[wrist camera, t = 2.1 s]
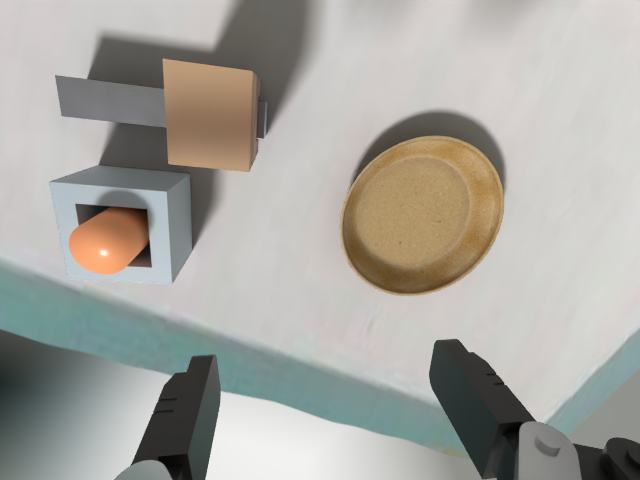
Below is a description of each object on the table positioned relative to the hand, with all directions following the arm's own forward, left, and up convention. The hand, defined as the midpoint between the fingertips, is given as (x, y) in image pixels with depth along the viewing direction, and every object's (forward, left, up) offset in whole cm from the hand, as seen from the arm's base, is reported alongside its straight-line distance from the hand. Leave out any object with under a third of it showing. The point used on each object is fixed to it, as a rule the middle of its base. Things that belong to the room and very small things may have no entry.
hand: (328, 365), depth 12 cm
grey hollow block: (+1, -13, -19) cm, 23 cm away
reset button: (+1, -13, -17) cm, 21 cm away
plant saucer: (0, +11, -19) cm, 22 cm away
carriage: (-7, -6, -17) cm, 20 cm away
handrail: (-7, -10, -19) cm, 23 cm away
